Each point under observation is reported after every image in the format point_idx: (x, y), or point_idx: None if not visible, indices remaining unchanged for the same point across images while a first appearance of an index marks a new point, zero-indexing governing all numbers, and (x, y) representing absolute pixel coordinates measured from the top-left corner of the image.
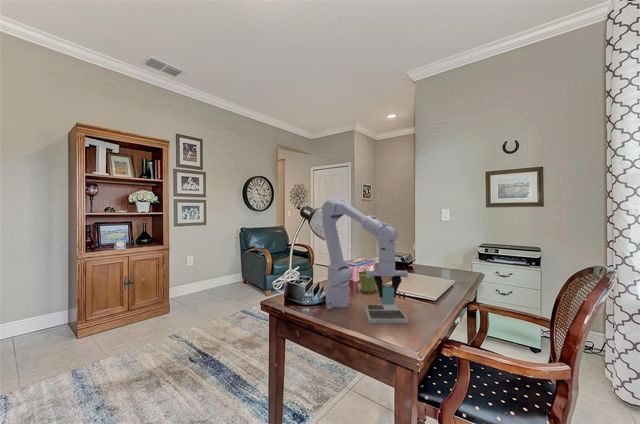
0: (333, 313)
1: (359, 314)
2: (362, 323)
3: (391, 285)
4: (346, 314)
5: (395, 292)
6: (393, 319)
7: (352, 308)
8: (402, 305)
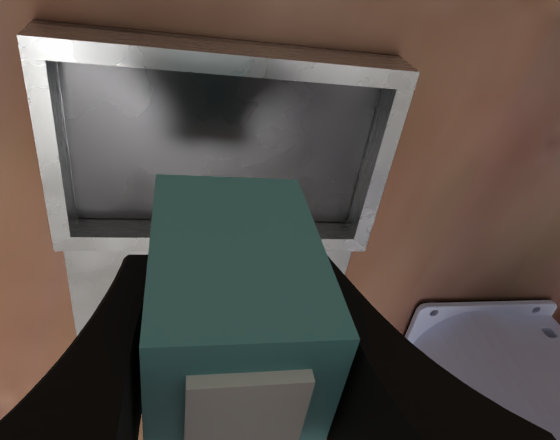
0: (547, 250)
1: (393, 235)
2: (437, 95)
3: (156, 437)
4: (477, 236)
5: (114, 300)
6: (186, 52)
7: (400, 311)
8: (25, 358)
